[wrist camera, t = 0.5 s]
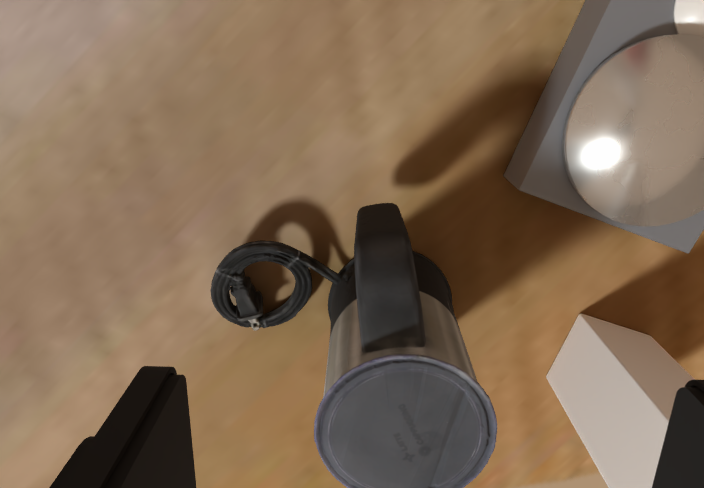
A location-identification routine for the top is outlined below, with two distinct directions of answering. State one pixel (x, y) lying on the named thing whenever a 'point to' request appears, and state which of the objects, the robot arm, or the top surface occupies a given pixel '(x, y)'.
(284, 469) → the top surface
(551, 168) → the scale base
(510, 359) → the top surface
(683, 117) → the platform
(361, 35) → the top surface
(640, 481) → the milk
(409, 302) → the milk frother
